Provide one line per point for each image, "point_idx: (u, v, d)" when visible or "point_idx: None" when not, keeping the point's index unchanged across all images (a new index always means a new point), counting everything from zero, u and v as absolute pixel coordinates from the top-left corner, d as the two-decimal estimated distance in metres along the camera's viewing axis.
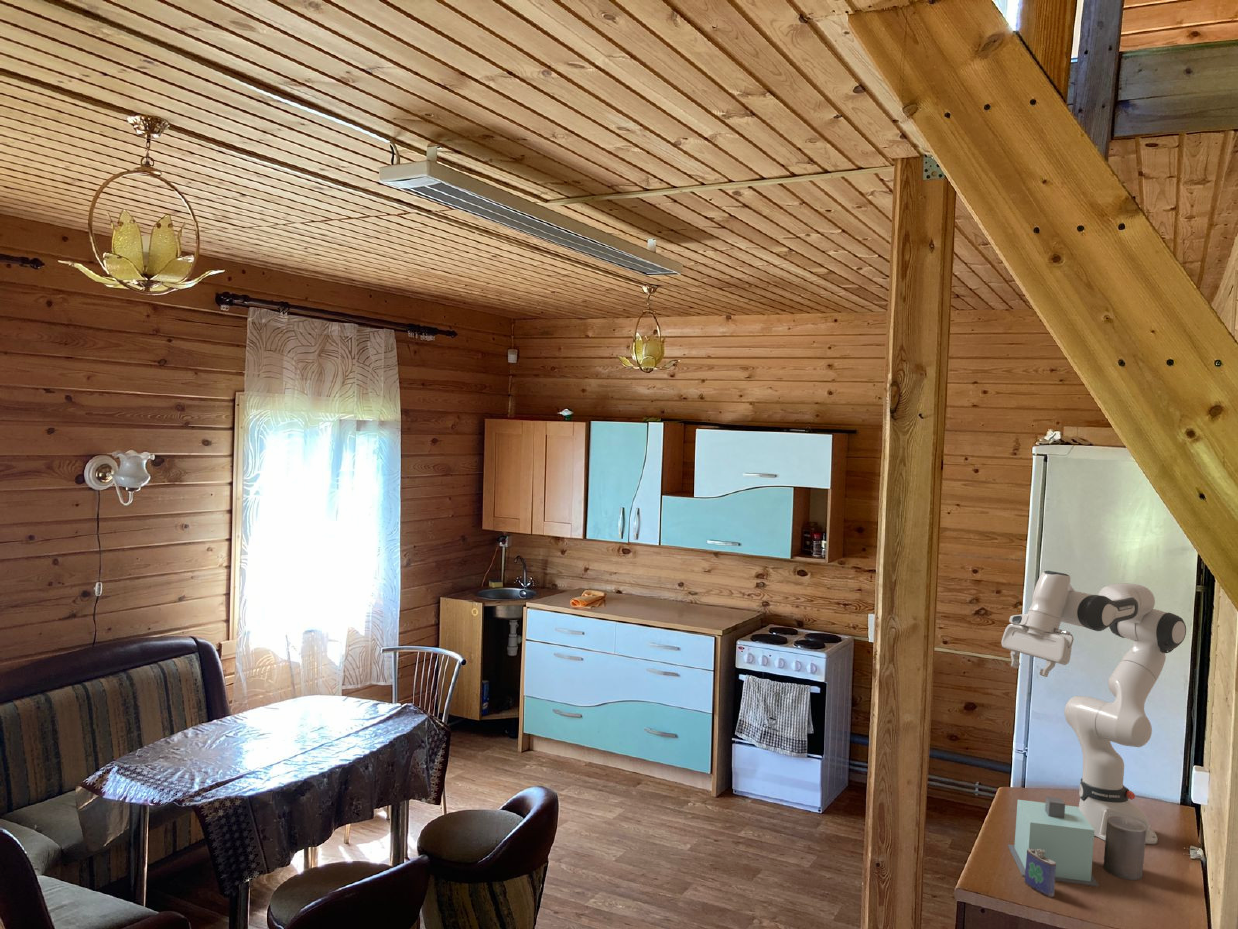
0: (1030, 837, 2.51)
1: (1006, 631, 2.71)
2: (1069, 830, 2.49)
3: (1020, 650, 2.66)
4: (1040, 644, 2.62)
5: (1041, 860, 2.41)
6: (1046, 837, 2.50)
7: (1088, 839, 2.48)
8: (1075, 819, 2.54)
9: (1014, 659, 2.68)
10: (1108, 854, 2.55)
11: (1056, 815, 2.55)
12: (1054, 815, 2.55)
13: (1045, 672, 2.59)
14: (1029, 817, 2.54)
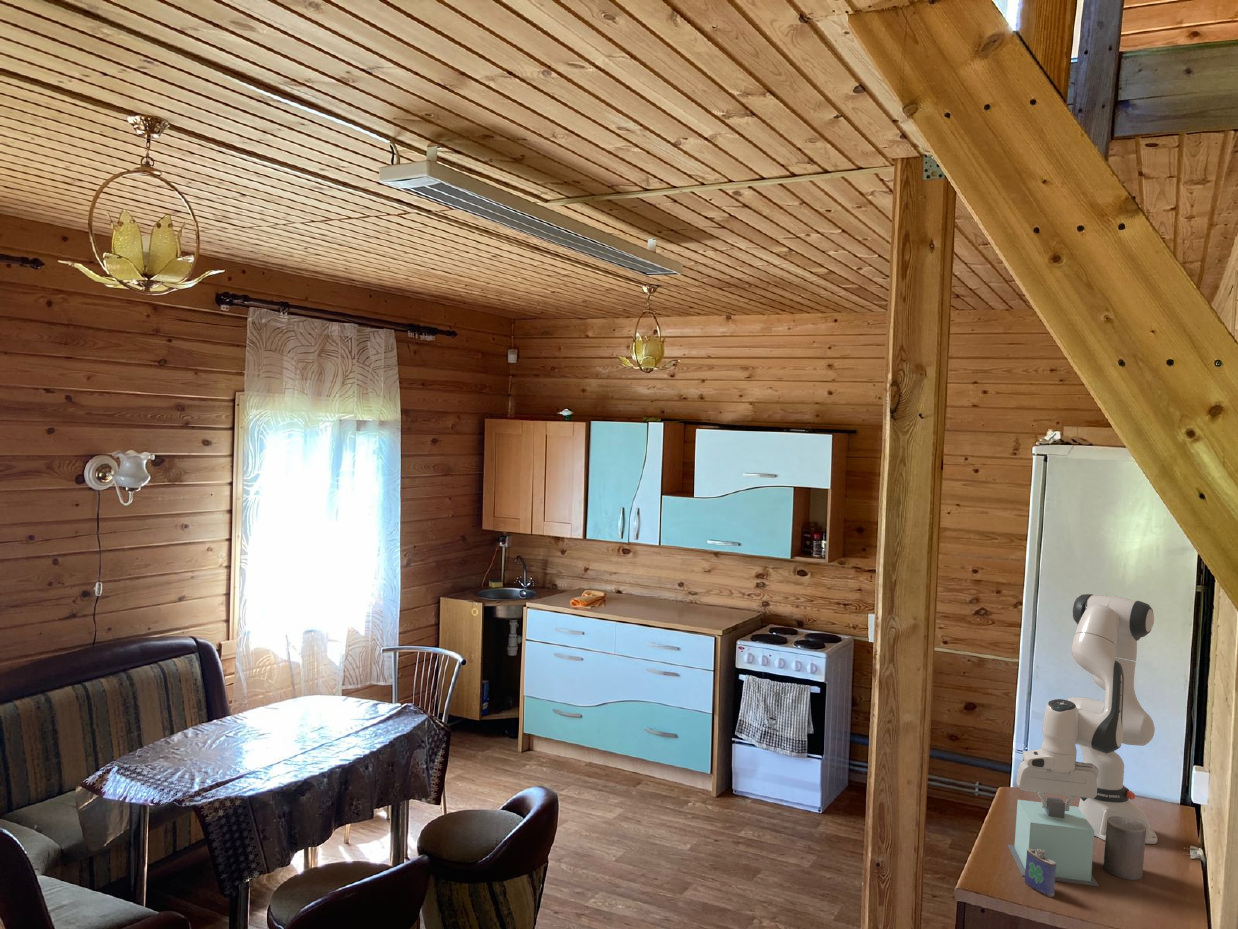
0: (1030, 837, 2.51)
1: (1024, 775, 2.56)
2: (1069, 830, 2.49)
3: (1045, 791, 2.56)
4: (1068, 783, 2.54)
5: (1041, 860, 2.41)
6: (1046, 837, 2.50)
7: (1088, 839, 2.48)
8: (1075, 819, 2.54)
9: (1044, 800, 2.57)
10: (1108, 854, 2.55)
11: (1056, 815, 2.55)
12: (1054, 815, 2.55)
13: (1068, 807, 2.56)
14: (1029, 817, 2.54)
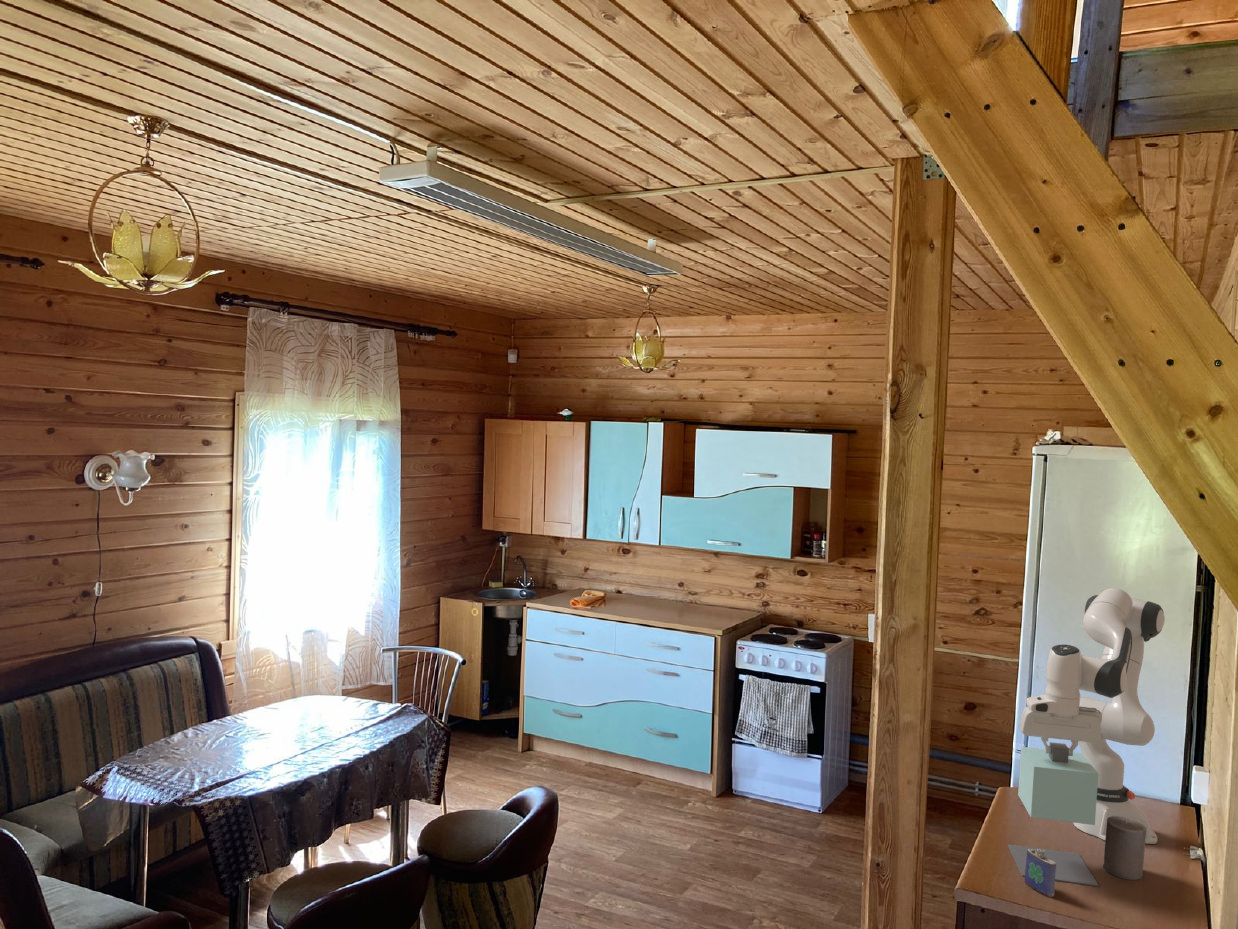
0: (1034, 781, 2.50)
1: (1028, 720, 2.55)
2: (1073, 774, 2.48)
3: (1049, 736, 2.55)
4: (1071, 727, 2.54)
5: (1041, 860, 2.41)
6: (1050, 781, 2.49)
7: (1092, 782, 2.47)
8: (1079, 764, 2.53)
9: (1047, 745, 2.56)
10: (1108, 854, 2.55)
11: (1060, 760, 2.54)
12: (1058, 760, 2.54)
13: (1072, 752, 2.55)
14: (1033, 762, 2.53)
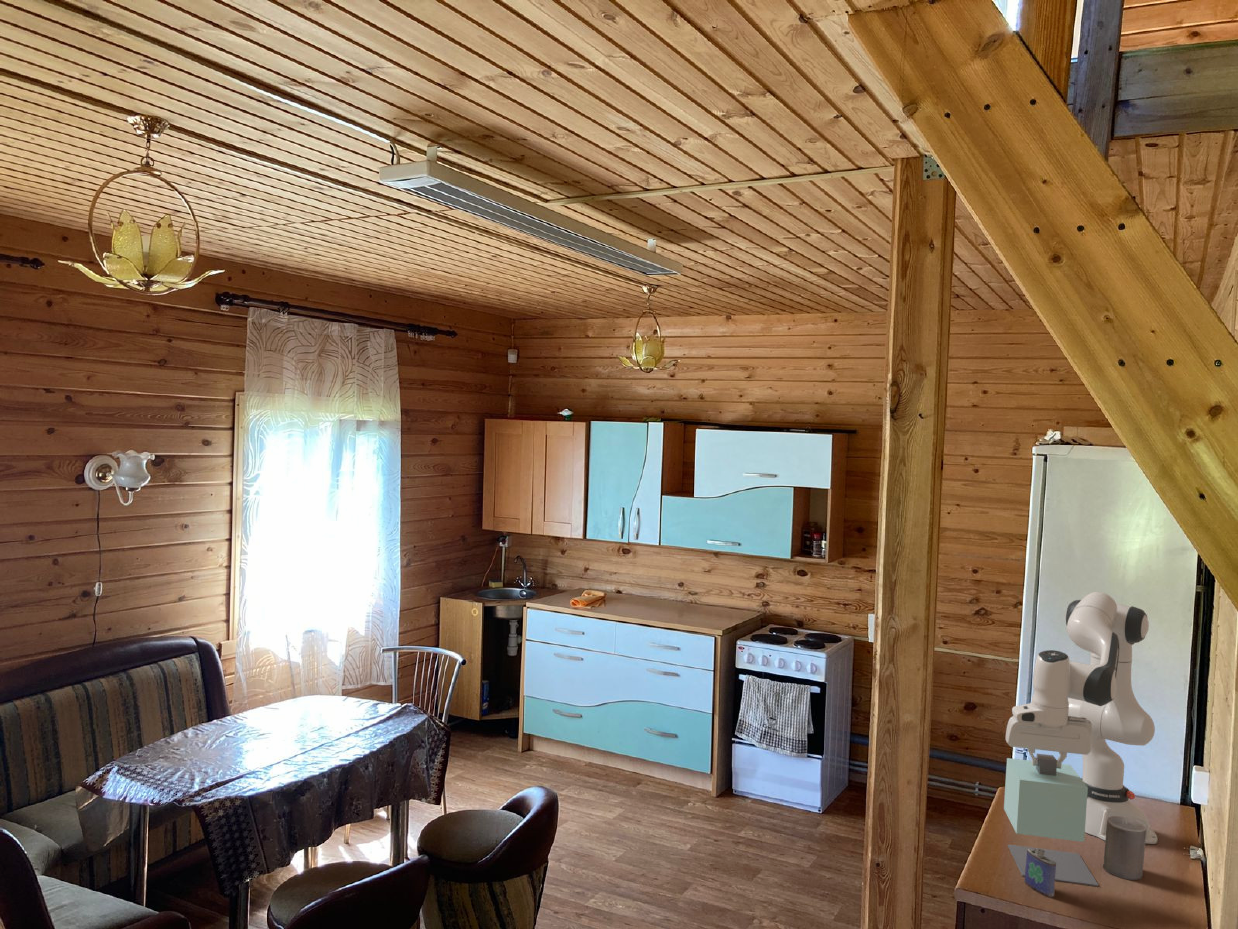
0: (1020, 795, 2.36)
1: (1014, 730, 2.41)
2: (1061, 787, 2.34)
3: (1036, 748, 2.41)
4: (1060, 738, 2.39)
5: (1041, 860, 2.41)
6: (1037, 795, 2.35)
7: (1082, 796, 2.33)
8: (1067, 777, 2.39)
9: (1034, 757, 2.42)
10: (1108, 854, 2.55)
11: (1047, 773, 2.40)
12: (1045, 773, 2.40)
13: (1060, 764, 2.41)
14: (1019, 775, 2.39)
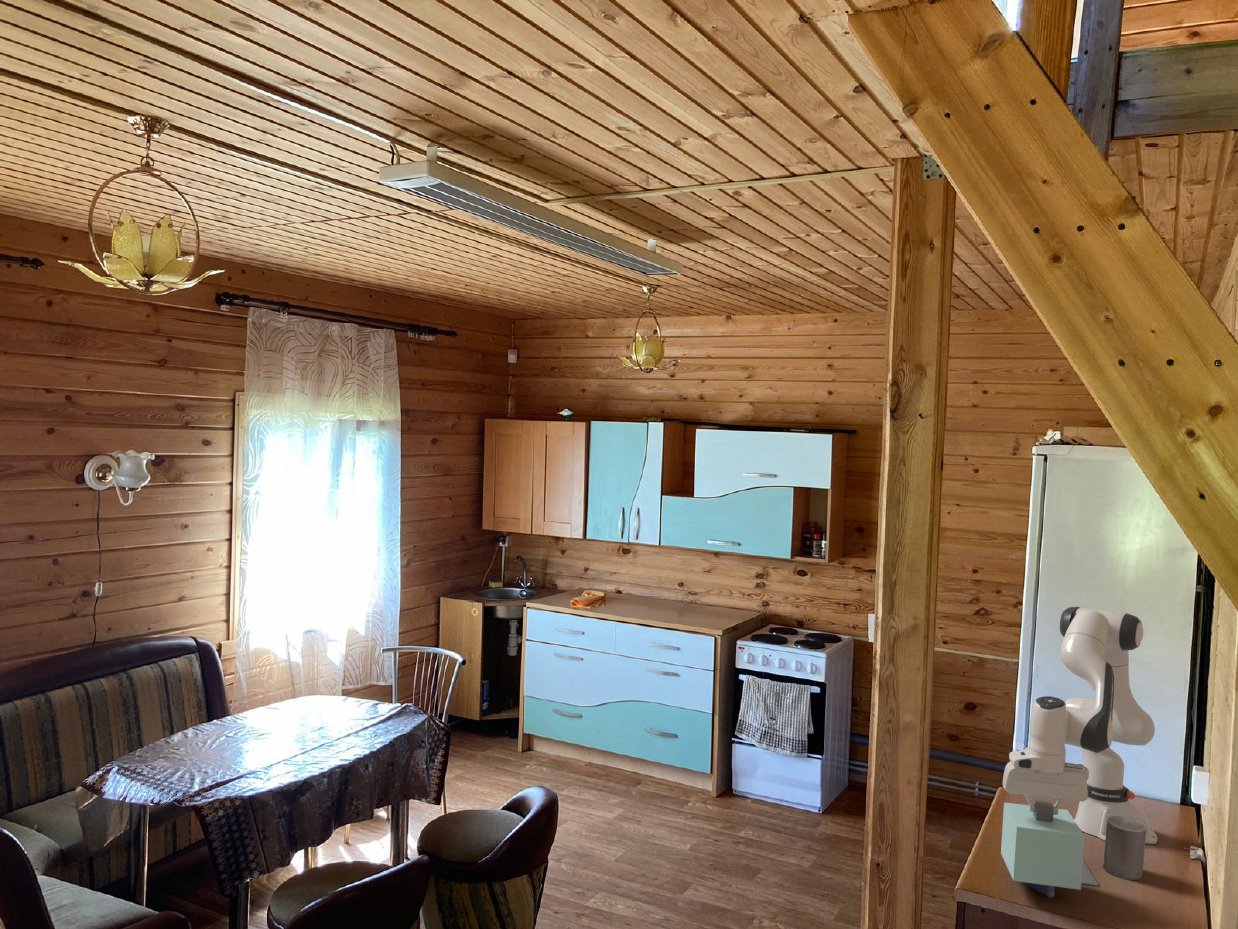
0: (1016, 842, 2.36)
1: (1011, 776, 2.42)
2: (1058, 835, 2.34)
3: (1033, 794, 2.41)
4: (1057, 785, 2.40)
5: None
6: (1033, 842, 2.36)
7: (1078, 844, 2.33)
8: (1064, 823, 2.40)
9: (1031, 803, 2.42)
10: (1108, 854, 2.55)
11: (1044, 819, 2.40)
12: (1042, 819, 2.41)
13: (1057, 810, 2.41)
14: (1016, 821, 2.40)
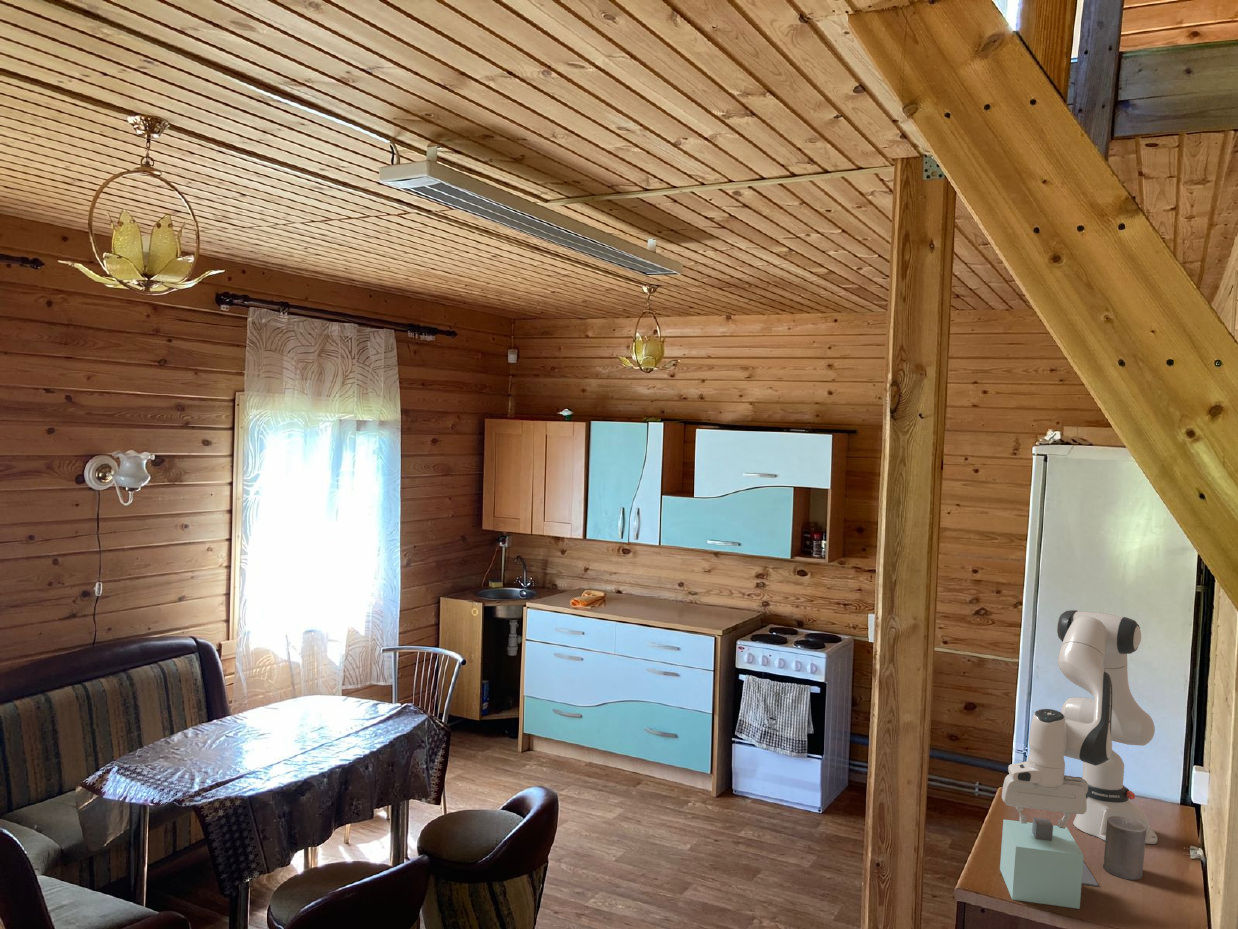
0: (1015, 862, 2.36)
1: (1010, 789, 2.42)
2: (1057, 855, 2.34)
3: (1032, 807, 2.41)
4: (1056, 798, 2.40)
5: None
6: (1032, 862, 2.36)
7: (1077, 864, 2.33)
8: (1064, 842, 2.40)
9: (1022, 815, 2.43)
10: (1108, 854, 2.55)
11: (1043, 838, 2.40)
12: (1041, 838, 2.41)
13: None
14: (1015, 840, 2.39)
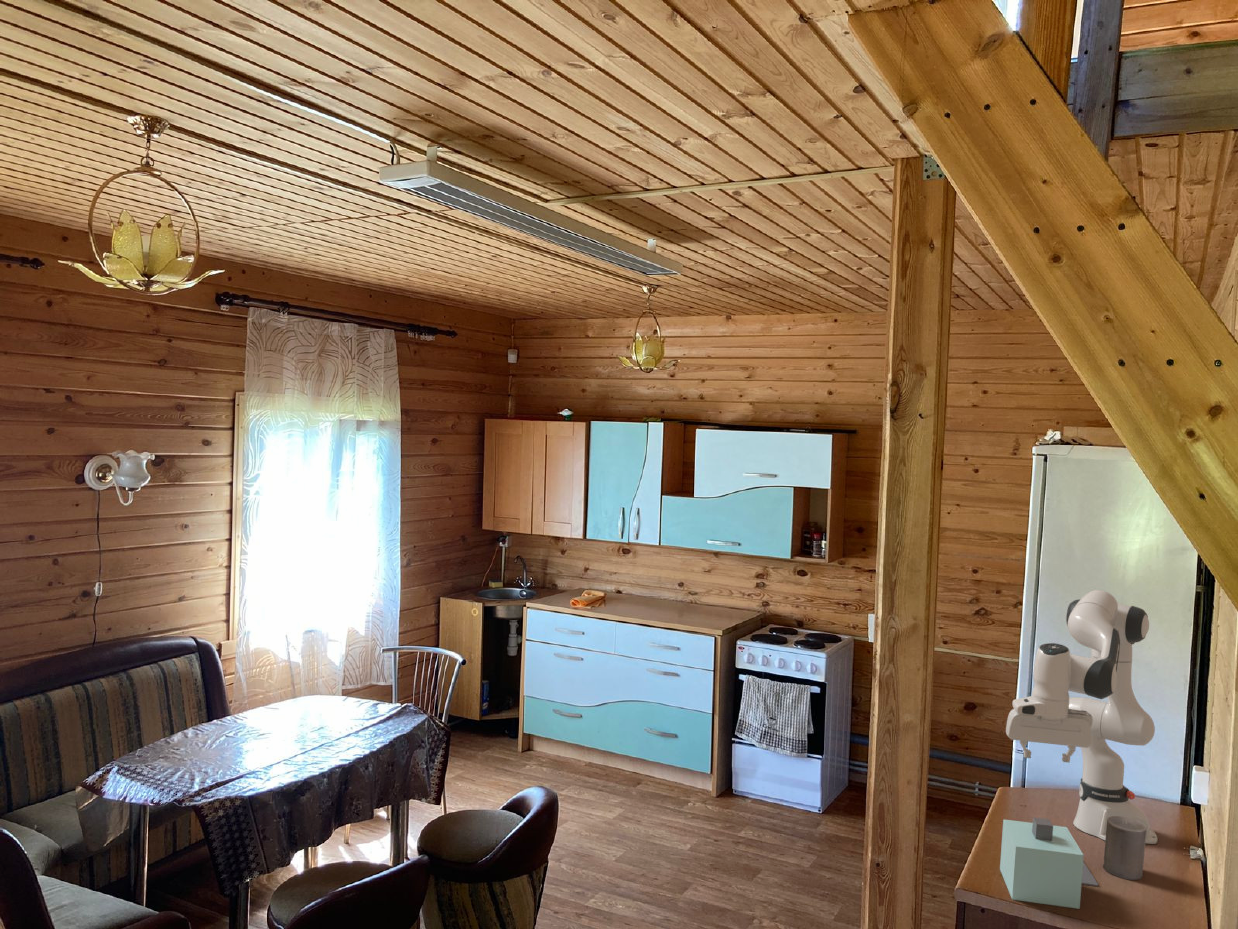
0: (1015, 862, 2.36)
1: (1014, 723, 2.41)
2: (1057, 855, 2.34)
3: (1036, 741, 2.40)
4: (1060, 731, 2.39)
5: None
6: (1032, 862, 2.36)
7: (1077, 864, 2.33)
8: (1064, 842, 2.40)
9: (1026, 749, 2.42)
10: (1108, 854, 2.55)
11: (1043, 838, 2.40)
12: (1041, 838, 2.41)
13: (1069, 758, 2.40)
14: (1015, 840, 2.39)
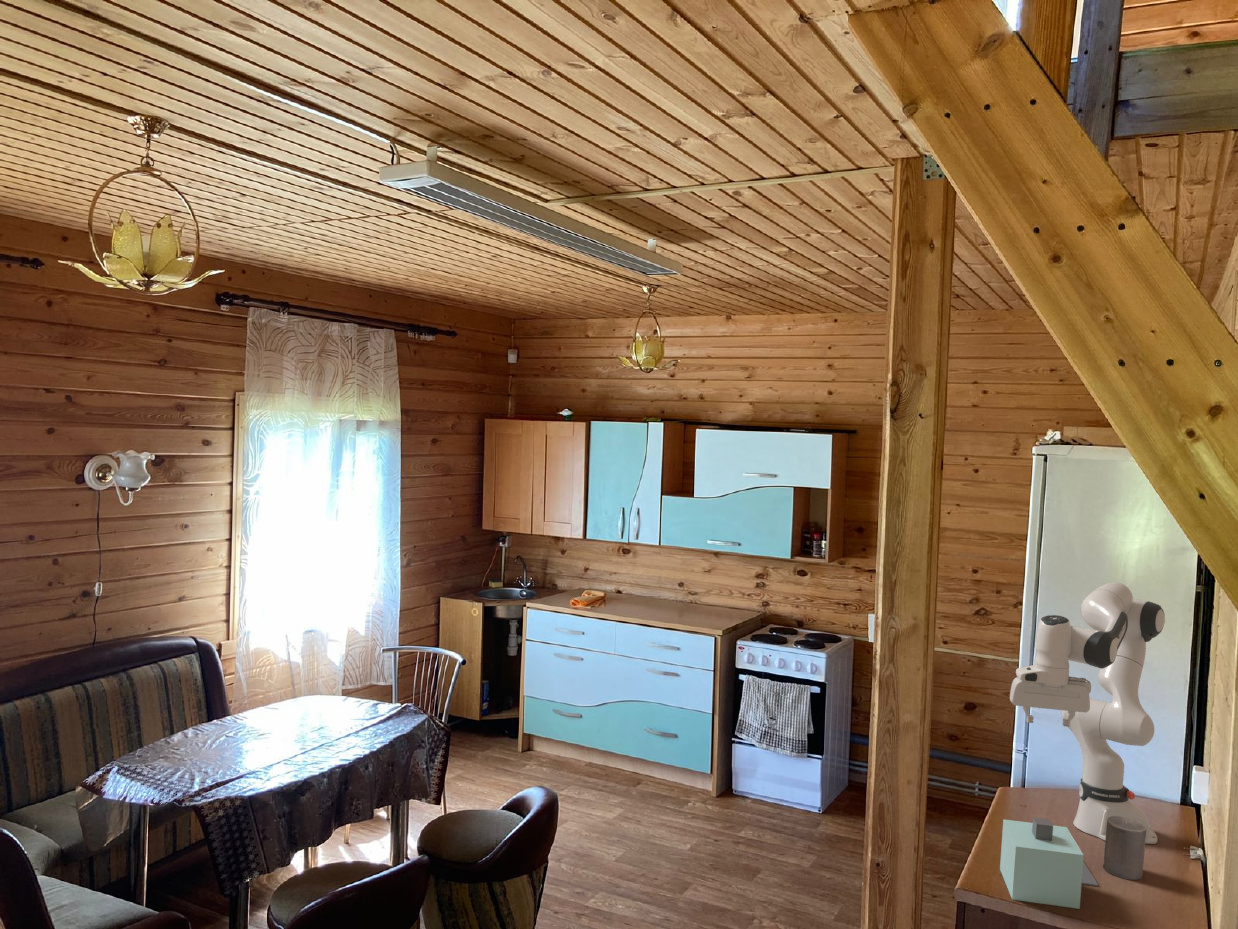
0: (1015, 862, 2.36)
1: (1017, 689, 2.57)
2: (1057, 855, 2.34)
3: (1038, 706, 2.56)
4: (1061, 697, 2.55)
5: None
6: (1032, 862, 2.36)
7: (1077, 864, 2.33)
8: (1064, 842, 2.40)
9: None
10: (1108, 854, 2.55)
11: (1043, 838, 2.40)
12: (1041, 838, 2.41)
13: (1069, 722, 2.56)
14: (1015, 840, 2.39)
